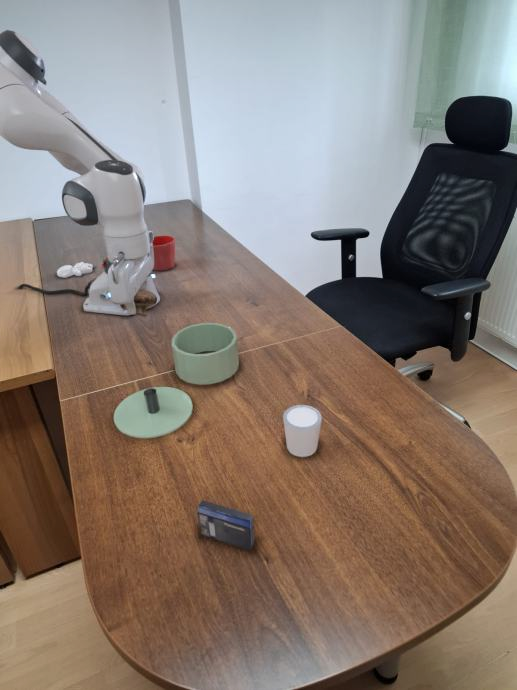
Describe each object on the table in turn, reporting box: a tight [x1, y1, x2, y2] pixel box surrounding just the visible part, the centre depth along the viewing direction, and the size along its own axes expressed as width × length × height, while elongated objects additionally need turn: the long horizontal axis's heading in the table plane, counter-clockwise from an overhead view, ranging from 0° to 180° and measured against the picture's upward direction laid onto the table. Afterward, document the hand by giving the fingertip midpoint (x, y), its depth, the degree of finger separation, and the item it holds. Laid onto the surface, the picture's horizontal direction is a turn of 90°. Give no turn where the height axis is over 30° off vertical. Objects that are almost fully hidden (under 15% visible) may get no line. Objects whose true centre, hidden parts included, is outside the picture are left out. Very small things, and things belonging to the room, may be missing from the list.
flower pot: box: [152, 235, 176, 272], centre depth 162 cm, size 11×11×10 cm
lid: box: [113, 386, 194, 439], centre depth 93 cm, size 16×16×6 cm
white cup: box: [282, 404, 323, 458], centre depth 83 cm, size 7×7×7 cm
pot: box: [170, 322, 240, 386], centre depth 106 cm, size 15×15×8 cm
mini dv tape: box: [197, 499, 256, 551], centre depth 68 cm, size 8×2×6 cm, turn 69°
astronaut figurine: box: [56, 261, 94, 279], centre depth 162 cm, size 9×12×3 cm
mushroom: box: [120, 290, 157, 317], centre depth 103 cm, size 8×8×6 cm
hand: (138, 304), depth 104 cm, fingers closed on mushroom, 7 cm apart
